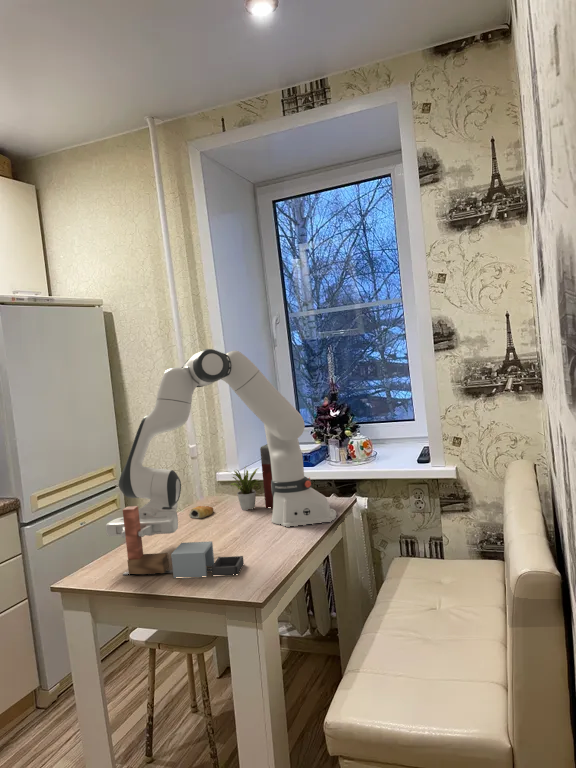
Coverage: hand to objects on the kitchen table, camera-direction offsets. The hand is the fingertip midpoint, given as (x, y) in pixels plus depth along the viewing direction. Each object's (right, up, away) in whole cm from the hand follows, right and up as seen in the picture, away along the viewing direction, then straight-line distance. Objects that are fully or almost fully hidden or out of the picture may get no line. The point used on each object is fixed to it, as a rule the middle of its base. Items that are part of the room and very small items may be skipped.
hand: (131, 534), depth 166 cm
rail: (+10, -11, 0) cm, 15 cm away
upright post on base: (+4, -10, +1) cm, 11 cm away
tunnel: (+17, -10, -1) cm, 20 cm away
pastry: (+11, -7, +56) cm, 58 cm away
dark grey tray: (+27, -9, -2) cm, 28 cm away
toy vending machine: (+41, -4, +61) cm, 73 cm away
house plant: (+27, -6, +60) cm, 66 cm away
